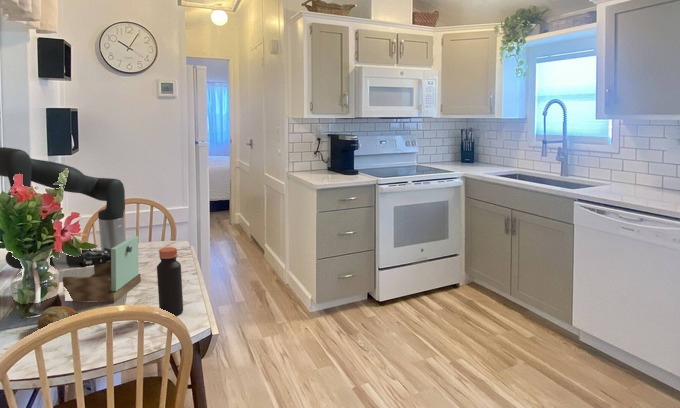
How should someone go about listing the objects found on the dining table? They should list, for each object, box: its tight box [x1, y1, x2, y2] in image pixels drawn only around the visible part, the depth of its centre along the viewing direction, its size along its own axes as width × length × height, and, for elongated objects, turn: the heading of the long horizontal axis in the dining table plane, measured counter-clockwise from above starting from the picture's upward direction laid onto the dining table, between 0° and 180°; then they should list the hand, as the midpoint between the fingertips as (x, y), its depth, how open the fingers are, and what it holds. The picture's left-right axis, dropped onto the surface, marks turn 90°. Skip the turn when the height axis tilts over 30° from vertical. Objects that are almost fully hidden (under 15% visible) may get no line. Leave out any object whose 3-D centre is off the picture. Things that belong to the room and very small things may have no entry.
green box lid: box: [111, 235, 140, 291], centre depth 156 cm, size 2×16×14 cm, turn 179°
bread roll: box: [36, 305, 79, 330], centre depth 131 cm, size 10×10×8 cm
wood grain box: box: [62, 262, 142, 303], centre depth 158 cm, size 16×19×8 cm
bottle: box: [156, 246, 184, 316], centre depth 140 cm, size 7×7×20 cm
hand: (123, 257), depth 156 cm, fingers closed
